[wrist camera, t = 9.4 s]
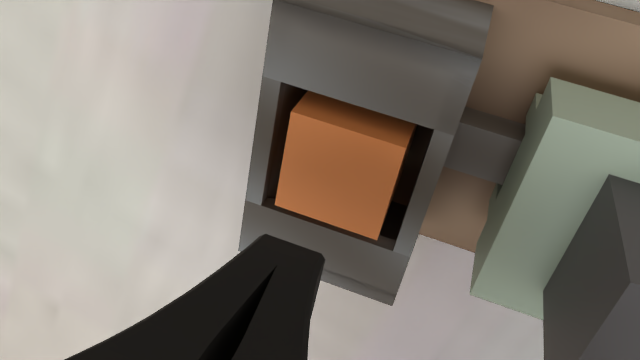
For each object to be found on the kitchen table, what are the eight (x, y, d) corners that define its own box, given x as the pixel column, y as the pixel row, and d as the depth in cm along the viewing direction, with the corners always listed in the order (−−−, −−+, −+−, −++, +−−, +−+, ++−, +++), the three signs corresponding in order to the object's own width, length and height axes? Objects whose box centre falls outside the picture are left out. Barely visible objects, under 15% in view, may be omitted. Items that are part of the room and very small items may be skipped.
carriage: (659, 282, 19) (717, 507, 13) (479, 222, 20) (454, 406, 14) (771, 124, 16) (923, 327, 10) (549, 61, 17) (558, 209, 11)
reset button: (400, 175, 19) (377, 240, 16) (312, 146, 19) (274, 205, 17) (427, 92, 17) (406, 148, 14) (330, 63, 18) (291, 111, 15)
